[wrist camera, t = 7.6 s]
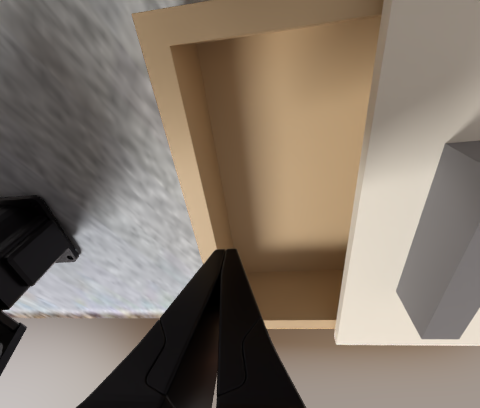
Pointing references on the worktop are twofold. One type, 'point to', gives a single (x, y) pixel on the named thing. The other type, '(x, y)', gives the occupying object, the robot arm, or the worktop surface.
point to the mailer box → (268, 136)
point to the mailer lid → (418, 184)
